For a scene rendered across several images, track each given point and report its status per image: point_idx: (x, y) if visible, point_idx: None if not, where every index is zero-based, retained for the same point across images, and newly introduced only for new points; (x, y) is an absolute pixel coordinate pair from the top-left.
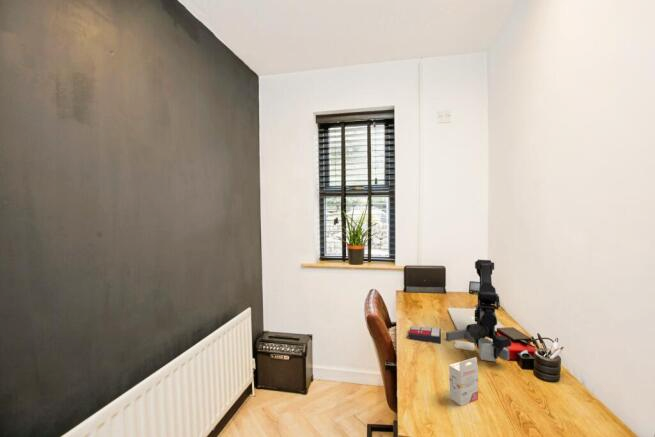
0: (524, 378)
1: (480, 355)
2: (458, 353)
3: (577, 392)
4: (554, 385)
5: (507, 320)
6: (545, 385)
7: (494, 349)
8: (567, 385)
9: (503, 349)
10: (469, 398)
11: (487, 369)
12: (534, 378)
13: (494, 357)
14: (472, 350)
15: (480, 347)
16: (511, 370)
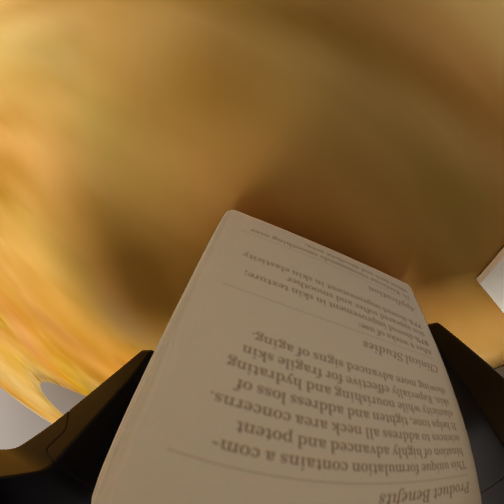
0: (22, 331)
1: (274, 245)
2: (492, 35)
3: (19, 392)
4: (25, 379)
5: None
6: (10, 356)
7: (58, 445)
8: (44, 407)
9: None
10: None
11: (52, 159)
12: (42, 368)
13: (139, 360)
14: (493, 266)
15: (270, 375)
16: (80, 341)
